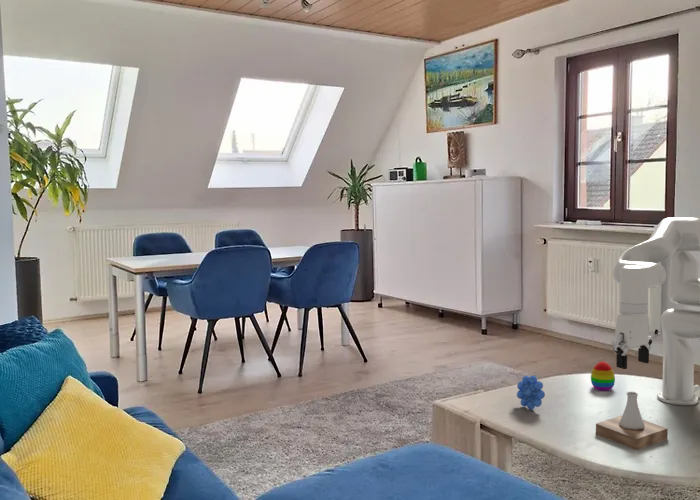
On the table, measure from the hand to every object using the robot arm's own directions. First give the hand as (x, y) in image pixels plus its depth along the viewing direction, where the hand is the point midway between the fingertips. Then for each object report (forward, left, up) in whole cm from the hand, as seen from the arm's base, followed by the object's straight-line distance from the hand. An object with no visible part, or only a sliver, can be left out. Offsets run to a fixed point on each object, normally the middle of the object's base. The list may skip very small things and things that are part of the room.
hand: (632, 365), depth 192 cm
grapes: (+7, -33, -22) cm, 40 cm away
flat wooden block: (0, 0, -23) cm, 23 cm away
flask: (0, 0, -19) cm, 19 cm away
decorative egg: (-29, -34, -22) cm, 50 cm away
